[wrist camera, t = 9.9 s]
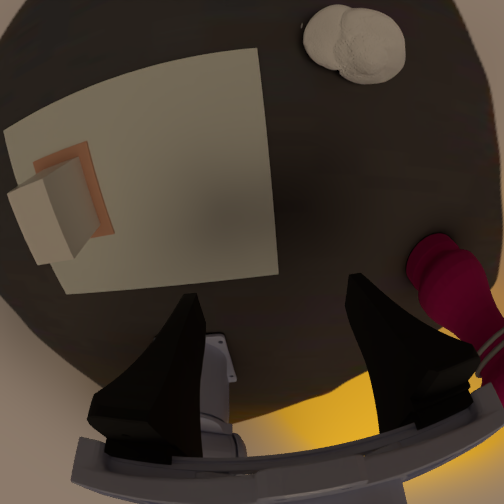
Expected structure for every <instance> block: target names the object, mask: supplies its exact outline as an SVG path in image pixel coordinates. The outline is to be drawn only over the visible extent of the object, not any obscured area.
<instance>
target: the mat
mask: <svg viewBox="0 0 504 504" xmlns="http://www.w3.org/2000/svg"><path fill="white" fill-rule="evenodd" d="M4 136H5V140H6V144H7V149H8V152H9V156H10V160H11V164H12V167H13V171H14V174H15V177H16V180H17V184H18V186H19V185H20V184H22V183H23V182H25V181H26V180H28V179H29V178H31V177H32V176H34V175H35V174H36V172H35V169H34V165H33V162H34V161H36V160H39V159H41V158H43V157H46V156H48V155H50V154H53V153H55V152H58V151H60V150H63V149H65V148H68V147H71V146H73V145H76V144H79V143H82V142H85V141H87V142H88V146H89V150H90V154H91V158H92V162H93V165H94V169H95V172H96V176H97V179H98V183H99V186H100V189H101V193H102V196H103V199H104V202H105V205H106V208H107V211H108V214H109V217H110V220H111V223H112V226H113V229H114V232H115V234H112V235H106V236H100V237H95V238H90V239H89V240H88V241H87V243H86V244H85V245H84V247H83V248H82V249H81V251H80V252H79V253H78V255H77V256H76V257H75V259H73V260H66V261H60V262H54V263H50V264H51V266H52V268H53V270H54V272H55V274H56V276H57V278H58V280H59V282H60V283H61V285H62V287H63V289H64V291H65V292H66V294H78V293H91V292H105V291H117V290H129V289H141V288H152V287H163V286H173V285H184V284H194V283H203V282H213V281H222V280H232V279H241V278H249V277H258V276H267V275H275V274H279V273H278V258H277V245H276V232H275V219H274V207H273V195H272V184H271V173H270V162H269V152H268V141H267V132H266V122H265V112H264V103H263V94H262V85H261V77H260V68H259V60H258V52H257V48H250V49H240V50H232V51H224V52H217V53H211V54H205V55H199V56H194V57H189V58H184V59H179V60H175V61H170V62H166V63H162V64H158V65H154V66H150V67H147V68H143V69H140V70H136V71H133V72H130V73H127V74H124V75H121V76H118V77H115V78H112V79H109V80H106V81H103V82H101V83H98V84H96V85H93V86H90V87H88V88H85V89H83V90H81V91H78V92H76V93H74V94H71V95H69V96H67V97H65V98H63V99H60V100H58V101H56V102H54V103H52V104H50V105H48V106H46V107H44V108H42V109H40V110H38V111H37V112H35V113H33V114H31V115H29V116H27V117H26V118H24V119H22V120H20V121H19V122H17V123H15V124H14V125H12V126H11V127H9V128H7V129H6V130H4Z"/></svg>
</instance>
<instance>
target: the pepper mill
mask: <svg viewBox="0 0 504 504" xmlns="http://www.w3.org/2000/svg"><path fill="white" fill-rule="evenodd" d="M406 273H407V276H408V278H409V280H410V281H411V283H412V284H413V286H414V287H415V288H416V289H417V290H418V291H419V292H418V297H419V302H420V305H421V307H422V308H423V310H424V311H425V312H426V313H427V315H428V316H429V317H430V318H431V319H432V320H434V321H435V322H436V323H438V324H439V325H441V326H443V327H444V328H446V329H448V330H449V331H451V332H452V333H454V334H455V335H456V336H457V337H458V338H459V339H460V340H461V341H464V342H467V343H470V344H472V345H473V346H474V348H475V350H476V351H477V353H478V355H479V356H480V359H481V362H480V365H479V367H478V368H477V370H476V371H475V372H476V373H475V375H476V377H478V378H482V385H481V387H482V386H484V385H486V384H488V383H489V382H491V383H492V385H493V387H494V389H495V391H496V393H497V395H498V397H499V399H500V401H501V404H502V406H503V408H504V318H503V317H502V315H501V313H500V312H499V310H498V308H497V307H496V304H495V302H494V299H493V297H492V294H491V291H490V288H489V284H488V281H487V277H486V274H485V271H484V269H483V267H482V265H481V264H480V262H479V261H478V260H477V258H476V257H475V256H474V255H473V254H472V253H471V252H469V251H467V250H464V249H459V247H458V245H457V244H456V243H455V242H454V241H453V240H452V239H451V238H450V237H449V236H447V235H446V234H442V233H437V234H432V235H430V236H428V237H426V238H424V239H423V240H422V241H420V242H419V243H418V244H417V245H416V247H415V248H414V249H413V251H412V252H411V254H410V256H409V258H408V261H407V266H406Z"/></svg>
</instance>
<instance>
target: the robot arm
mask: <svg viewBox="0 0 504 504" xmlns="http://www.w3.org/2000/svg"><path fill="white" fill-rule="evenodd" d="M345 308H346V312H347V316H348V319H349V323H350V325H351V328H352V330H353V333H354V335H355V338H356V340H357V342H358V345H359V347H360V350H361V352H362V355H363V357H364V360H365V362H366V365H367V369H368V372H369V376H370V380H371V385H372V389H373V394H374V399H375V404H376V410H377V416H378V424H379V431H380V432H379V433H380V434H378V435H375V436H371V437H367V438H364V439H360V440H356V441H352V442H347V443H343V444H339V445H334V446H329V447H324V448H319V449H313V450H307V451H300V452H293V453H285V454H277V455H266V456H253V457H247V452H246V446H245V444H244V442H243V440H242V439H241V437H240V436H239V435H238V434H236V433H232V424H229V423H228V422H229V382H235V381H237V377H236V374H235V370H234V367H233V364H232V360H231V357H230V354H229V350H228V347H227V343H226V340H225V336H224V335H223V334H209V335H206V322H205V319H204V316H203V312H202V309H201V306H200V303H199V300H198V297H197V293H191V294H184V295H183V296H182V298H181V299H180V301H179V303H178V304H177V306H176V308H175V309H174V311H173V313H172V314H171V316H170V317H169V319H168V320H167V322H166V323H165V325H164V326H163V328H162V329H161V331H160V332H159V334H158V335H157V336H156V338H154V339H153V342H152V343H151V344H150V345H149V347H148V348H147V349H146V350H145V351H144V353H143V354H142V355H141V356H140V357H139V358H138V359H137V360H136V361H135V362H134V363H133V364H132V365H131V366H130V367H129V368H128V369H127V370H126V371H125V372H124V373H122V374H121V375H120V376H119V377H118V378H116V379H115V380H114V381H113V382H111V383H110V384H108V385H107V386H106V387H104V388H103V389H101V390H100V391H98V392H97V393H95V394H94V396H93V399H92V402H91V406H90V409H89V413H88V417H87V421H88V422H89V424H90V425H91V426H92V427H93V428H94V429H96V430H97V431H98V432H100V433H101V434H102V435H104V436H105V437H106V438H107V439H106V443H103V442H101V441H97V440H93V439H89V438H84V437H80V438H79V442H78V446H77V451H76V455H75V460H74V465H73V470H72V476H71V482H72V483H75V484H77V485H79V486H82V487H84V488H86V489H89V490H92V491H94V492H97V493H99V494H102V495H106V496H110V497H113V498H118V499H121V500H126V501H129V502H134V503H139V504H407V502H406V497H405V492H404V488H403V484H402V483H403V482H405V481H408V480H410V479H413V478H415V477H417V476H420V475H422V474H424V473H426V472H428V471H431V470H433V469H435V468H437V467H439V466H441V465H443V464H445V463H447V462H449V461H451V460H452V459H454V458H456V457H458V456H460V455H461V454H463V453H465V452H467V451H469V450H470V449H472V448H474V447H475V446H477V445H479V444H480V443H482V442H483V441H485V440H486V439H487V438H489V437H490V436H491V435H493V434H494V433H496V432H497V431H498V430H499V429H500V428H502V427H503V426H504V408H503V406H502V404H501V401H500V399H499V397H498V395H497V393H496V391H495V389H494V387H493V385H492V383H491V382H489V383H488V384H486V385H484V386H482V387H480V388H478V389H477V390H475V391H473V392H472V393H471V394H470V393H469V391H468V389H469V388H470V384H469V382H468V380H469V379H470V377H471V376H472V375H473V373H474V372H475V371H476V370H477V368H478V367H479V365H480V362H481V359H480V356H479V355H478V353H477V351H476V350H475V348H474V346H473V345H472V344H470V343H467V342H464V341H461V340H458V339H456V338H453V337H451V336H448V335H446V334H444V333H442V332H440V331H438V330H436V329H434V328H432V327H430V326H428V325H427V324H425V323H423V322H422V321H420V320H418V319H417V318H415V317H414V316H412V315H411V314H409V313H408V312H407V311H405V310H404V309H403V308H401V307H400V306H399V305H397V304H396V303H395V302H394V301H392V300H391V299H390V298H389V297H388V296H386V295H385V294H384V293H383V292H382V291H381V290H379V289H378V288H377V287H376V286H375V285H374V284H373V283H372V282H370V281H369V280H368V279H367V278H366V277H365V276H364V275H363V274H361V273H357V274H350V275H349V279H348V287H347V294H346V301H345ZM245 474H249V475H245Z"/></svg>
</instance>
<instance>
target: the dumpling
mask: <svg viewBox="0 0 504 504" xmlns="http://www.w3.org/2000/svg"><path fill="white" fill-rule="evenodd" d="M302 24H303V23H302ZM302 24H301V28H302ZM303 44H304V47H305V49H306V51H307V53H308V55H309V56H310V57H311V59H312V60H313V61H315V62H316V63H317V64H319V65H321V66H324V67H325V68H328V69H331V70H339V71H340V75H342V76H344V78H345V79H347V80H349V81H351V82H354V83H358V84H362V85H364V84H373V83H374V84H376V83H381V82H386V81H387V80H389V79H391V78H393V77H394V76H395V75H396V74H398V73H399V72H400V70H401V69H402V67H403V66H404V63H405V40H404V37H403V34H402V32H401V30H400V28H399V26H398V25H397V24H396V23H395V22H394V21H393V20H392V19H391V18H390V17H388V16H387V15H385V14H383V13H381V12H379V11H374V10H371V9H365V8H350V7H348V6H345V5H331V6H328V7H326V8H324V9H322V10H320V11H319V12H317V13H316V14H315V15H314V16H313V17H312V18H311V20H310V21H309V23H308V24H307V26H306V28H305V31H304V36H303Z"/></svg>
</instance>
